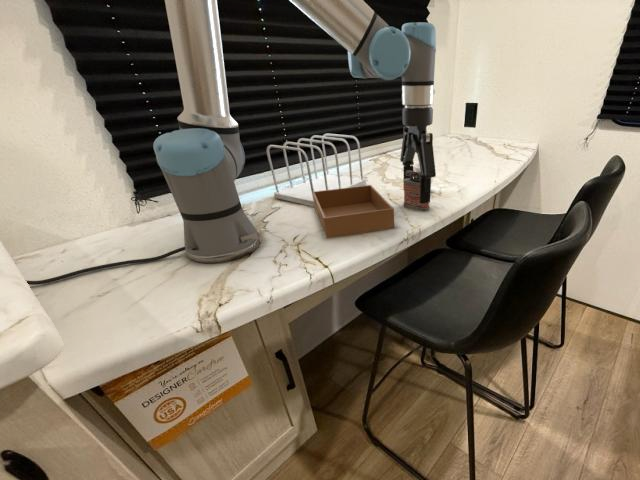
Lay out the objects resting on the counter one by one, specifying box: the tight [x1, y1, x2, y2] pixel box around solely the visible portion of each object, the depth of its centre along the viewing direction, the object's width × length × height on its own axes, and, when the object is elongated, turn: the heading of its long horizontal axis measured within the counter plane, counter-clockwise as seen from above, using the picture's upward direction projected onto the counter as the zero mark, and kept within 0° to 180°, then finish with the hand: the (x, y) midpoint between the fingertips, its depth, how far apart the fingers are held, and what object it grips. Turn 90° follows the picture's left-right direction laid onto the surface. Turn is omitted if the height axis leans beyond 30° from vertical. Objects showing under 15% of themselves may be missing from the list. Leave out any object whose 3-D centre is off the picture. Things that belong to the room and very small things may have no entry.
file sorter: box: [266, 133, 367, 208], centre depth 102 cm, size 25×17×16 cm
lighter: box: [402, 170, 430, 212], centre depth 90 cm, size 8×3×10 cm, turn 58°
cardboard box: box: [312, 184, 395, 239], centre depth 86 cm, size 17×21×5 cm
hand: (416, 195), depth 91 cm, fingers open, 12 cm apart
